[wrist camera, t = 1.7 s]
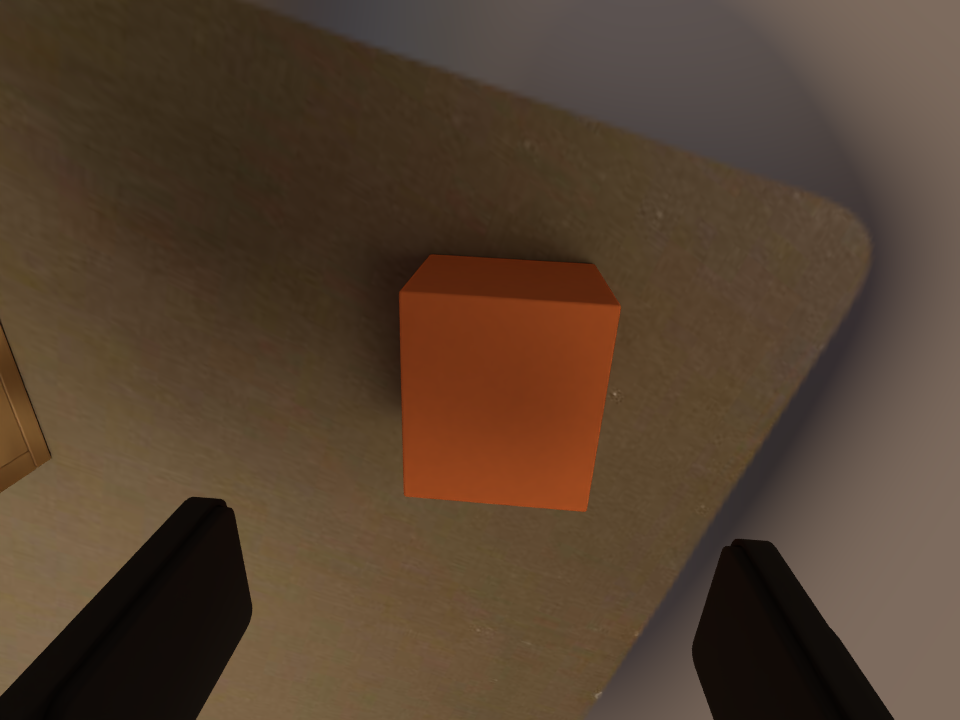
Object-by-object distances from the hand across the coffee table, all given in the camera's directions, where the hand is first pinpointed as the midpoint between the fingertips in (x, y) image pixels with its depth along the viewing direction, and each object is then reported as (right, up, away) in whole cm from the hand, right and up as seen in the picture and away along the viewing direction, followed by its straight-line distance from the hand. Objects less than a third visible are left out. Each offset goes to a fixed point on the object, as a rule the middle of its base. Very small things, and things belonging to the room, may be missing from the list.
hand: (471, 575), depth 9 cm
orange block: (+1, +5, +10) cm, 11 cm away
